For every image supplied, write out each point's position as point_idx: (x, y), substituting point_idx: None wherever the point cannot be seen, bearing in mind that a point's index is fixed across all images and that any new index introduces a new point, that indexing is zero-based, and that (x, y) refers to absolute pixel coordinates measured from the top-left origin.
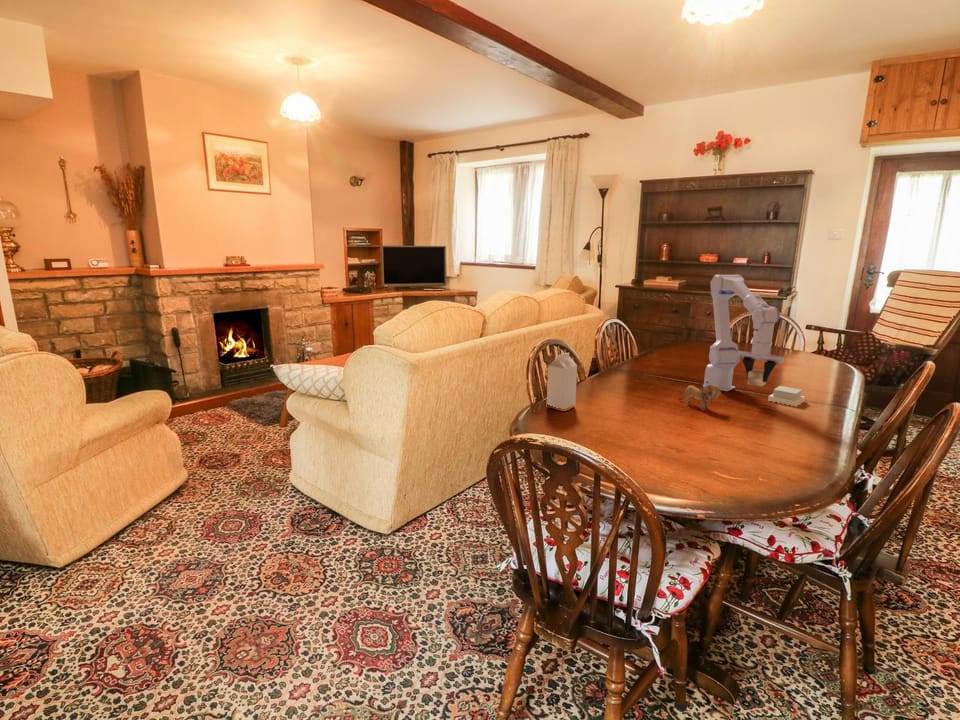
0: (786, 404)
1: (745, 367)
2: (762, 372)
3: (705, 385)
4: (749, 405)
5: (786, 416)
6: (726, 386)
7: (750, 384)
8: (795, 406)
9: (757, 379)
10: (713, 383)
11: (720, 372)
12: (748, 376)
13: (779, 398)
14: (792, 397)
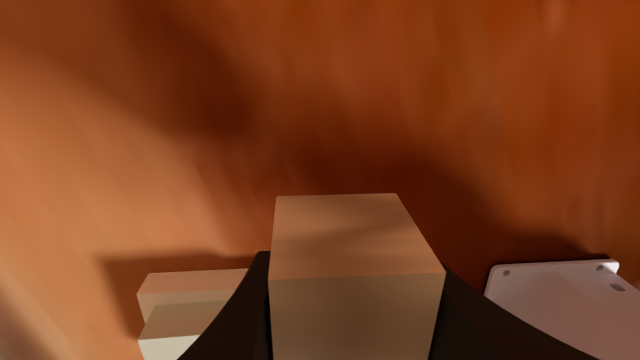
0: (195, 272)
1: (520, 320)
2: (302, 344)
3: (606, 270)
4: (322, 111)
5: (65, 50)
6: (512, 298)
7: (366, 194)
8: (151, 273)
9: (317, 228)
10: (584, 286)
11: (621, 350)
12: (417, 234)
13: (227, 287)
14: (164, 316)
